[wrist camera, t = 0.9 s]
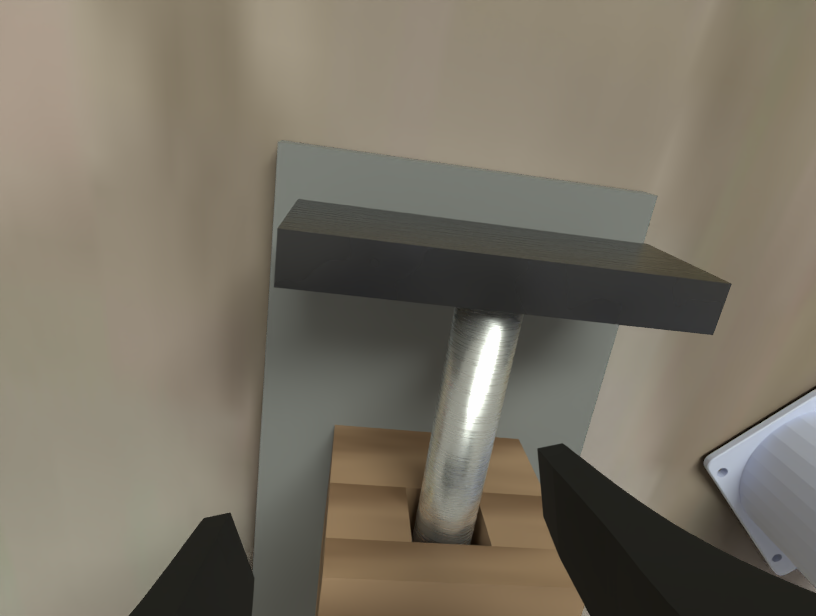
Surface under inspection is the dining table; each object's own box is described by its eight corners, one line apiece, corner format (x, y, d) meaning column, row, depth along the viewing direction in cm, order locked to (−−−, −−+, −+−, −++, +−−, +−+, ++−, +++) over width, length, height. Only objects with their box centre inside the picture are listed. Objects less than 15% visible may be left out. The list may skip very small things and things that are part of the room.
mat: (281, 140, 19) (277, 142, 18) (644, 192, 21) (657, 195, 20) (250, 656, 28) (246, 675, 27) (508, 662, 30) (513, 680, 29)
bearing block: (334, 424, 22) (322, 577, 15) (518, 438, 23) (590, 588, 16) (322, 537, 24) (305, 720, 17) (491, 546, 25) (544, 722, 18)
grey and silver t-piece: (297, 198, 17) (277, 228, 13) (647, 244, 19) (731, 283, 14) (263, 673, 24) (242, 791, 20) (517, 677, 26) (547, 788, 22)
